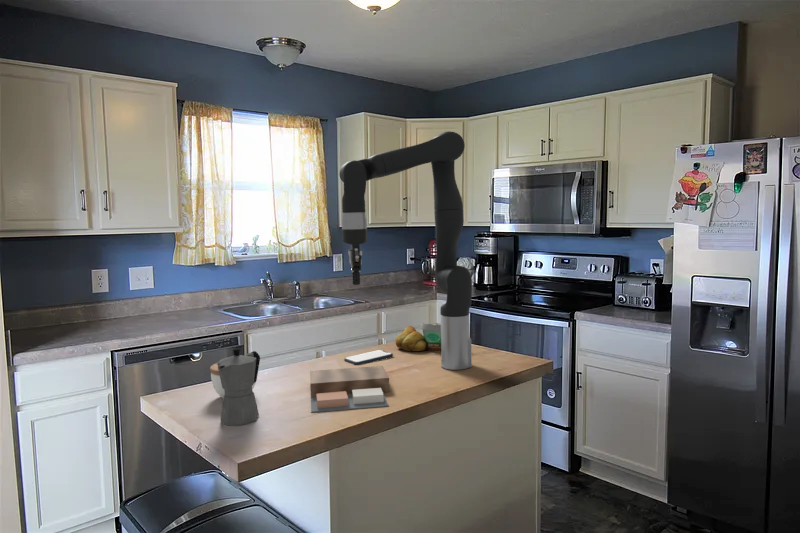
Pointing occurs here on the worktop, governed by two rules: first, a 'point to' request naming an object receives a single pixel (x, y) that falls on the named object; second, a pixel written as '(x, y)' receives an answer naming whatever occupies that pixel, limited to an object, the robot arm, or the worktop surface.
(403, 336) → the bread roll
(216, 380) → the lidded bowl
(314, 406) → the rubber mat
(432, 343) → the food container
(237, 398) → the coffeepot
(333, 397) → the tile terracotta
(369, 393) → the tile cream
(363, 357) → the phone case
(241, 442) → the worktop surface
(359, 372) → the walnut board
